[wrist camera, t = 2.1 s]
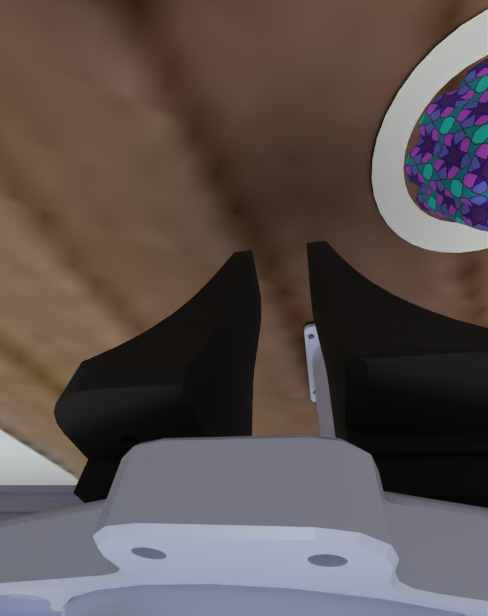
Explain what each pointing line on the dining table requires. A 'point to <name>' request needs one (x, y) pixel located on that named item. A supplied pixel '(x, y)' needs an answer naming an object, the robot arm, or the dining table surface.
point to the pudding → (439, 148)
